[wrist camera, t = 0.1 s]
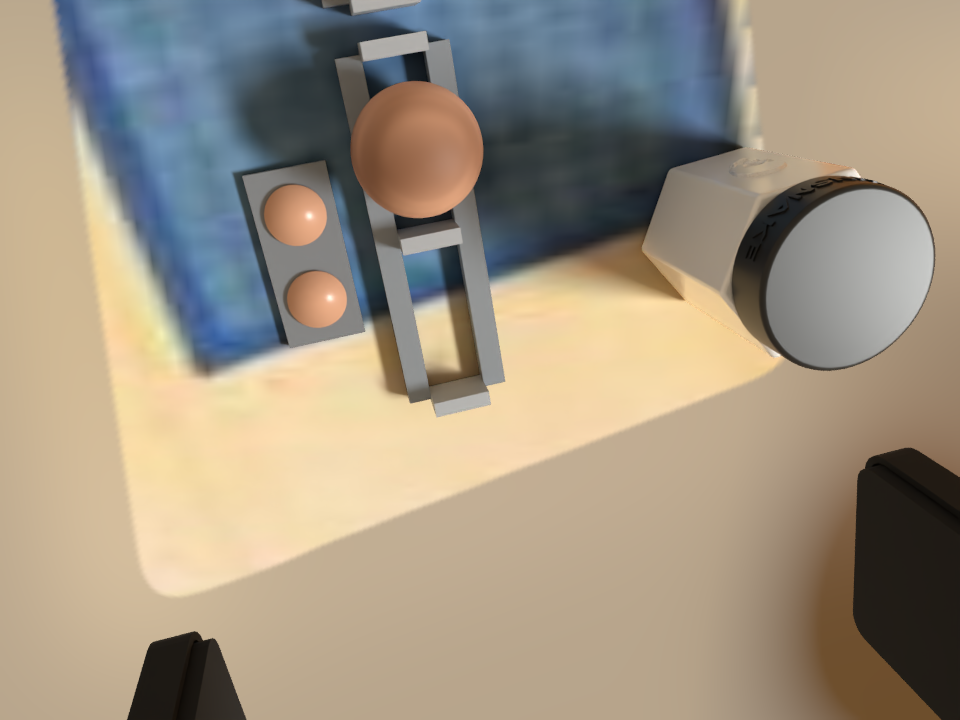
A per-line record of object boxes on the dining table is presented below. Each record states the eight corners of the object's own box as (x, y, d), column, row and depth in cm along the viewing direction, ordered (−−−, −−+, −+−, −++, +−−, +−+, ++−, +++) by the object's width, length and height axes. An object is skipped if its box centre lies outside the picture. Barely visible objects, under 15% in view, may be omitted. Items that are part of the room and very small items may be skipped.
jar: (782, 131, 42) (947, 155, 31) (793, 271, 45) (946, 338, 34) (628, 175, 41) (741, 216, 30) (650, 315, 44) (760, 398, 33)
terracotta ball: (335, 91, 36) (338, 96, 31) (458, 69, 37) (483, 70, 31) (362, 217, 38) (370, 242, 33) (479, 193, 39) (505, 214, 34)
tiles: (98, -346, 30) (94, -354, 29) (203, -357, 30) (201, -365, 30) (290, 345, 41) (289, 349, 40) (364, 329, 41) (365, 332, 41)
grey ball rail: (205, -530, 28) (195, -579, 26) (350, -542, 29) (352, -591, 27) (409, 404, 43) (414, 422, 41) (502, 382, 44) (512, 399, 42)
